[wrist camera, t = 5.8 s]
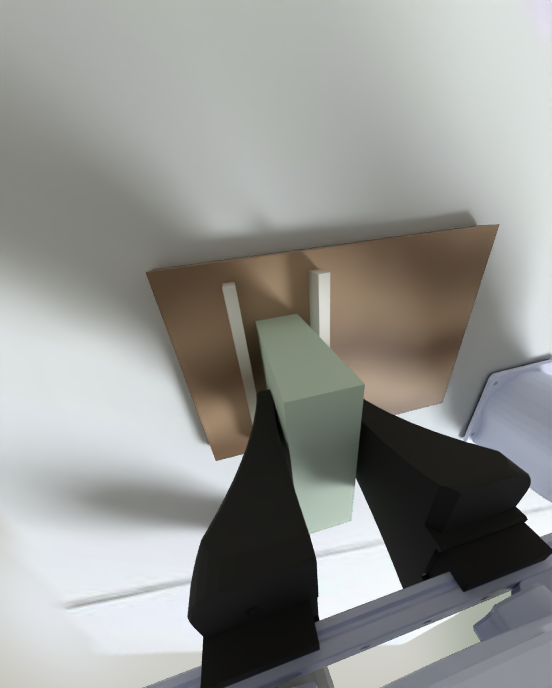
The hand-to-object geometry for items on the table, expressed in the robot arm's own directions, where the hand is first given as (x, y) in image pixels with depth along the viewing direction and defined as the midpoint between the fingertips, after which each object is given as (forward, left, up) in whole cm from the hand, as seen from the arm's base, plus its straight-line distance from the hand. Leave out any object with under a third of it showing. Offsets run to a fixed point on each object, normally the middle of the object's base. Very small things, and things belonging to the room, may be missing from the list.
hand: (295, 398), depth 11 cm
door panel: (0, 0, -3) cm, 3 cm away
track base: (0, -4, -4) cm, 6 cm away
